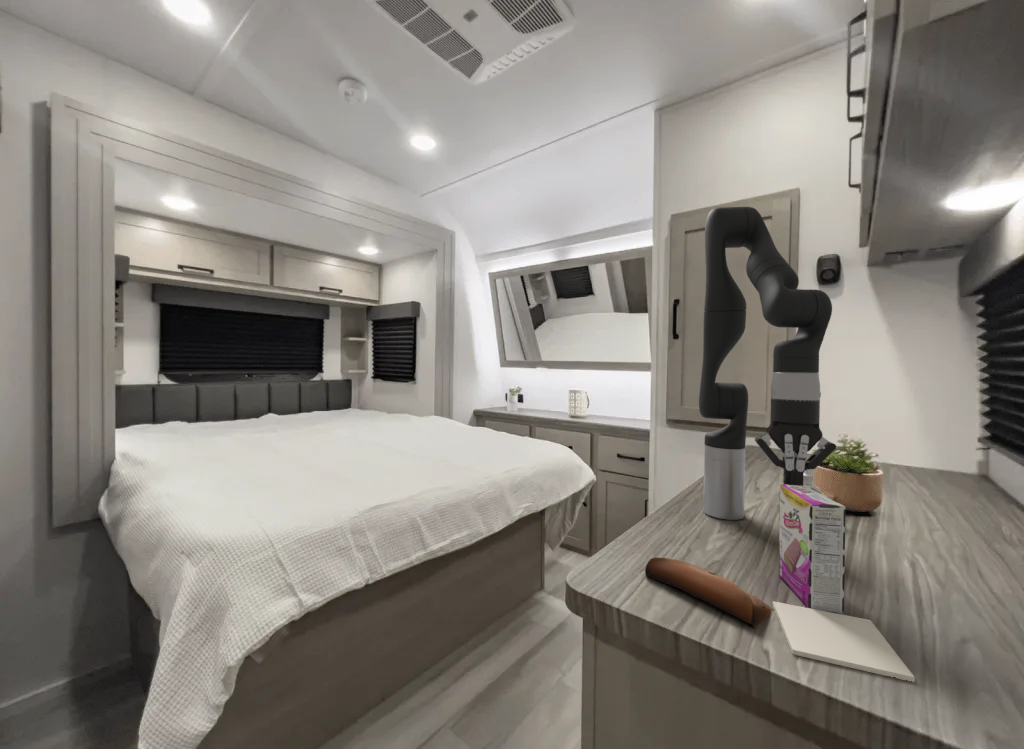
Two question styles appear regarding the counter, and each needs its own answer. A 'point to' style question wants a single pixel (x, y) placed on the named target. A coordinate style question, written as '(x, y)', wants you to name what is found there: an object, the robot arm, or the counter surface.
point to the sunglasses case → (709, 588)
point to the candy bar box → (812, 547)
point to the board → (839, 640)
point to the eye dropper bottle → (809, 480)
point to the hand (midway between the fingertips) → (792, 490)
